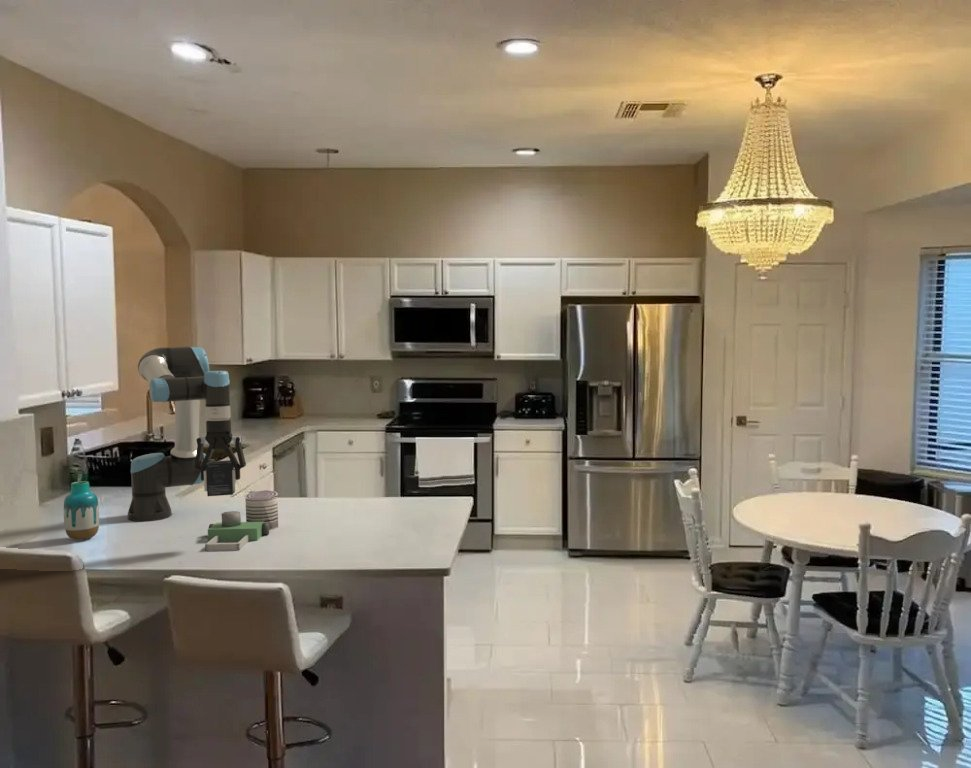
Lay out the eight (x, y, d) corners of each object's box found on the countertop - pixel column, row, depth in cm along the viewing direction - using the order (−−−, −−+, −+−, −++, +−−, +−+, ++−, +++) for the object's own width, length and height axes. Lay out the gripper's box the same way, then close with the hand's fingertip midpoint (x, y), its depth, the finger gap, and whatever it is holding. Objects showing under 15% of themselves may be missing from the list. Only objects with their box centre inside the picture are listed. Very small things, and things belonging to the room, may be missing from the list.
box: (235, 492, 271) (233, 459, 270) (232, 495, 265) (231, 462, 264) (209, 493, 269) (208, 460, 269) (206, 496, 264) (205, 463, 263)
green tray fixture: (191, 551, 262) (190, 525, 262) (212, 534, 284) (211, 511, 283) (253, 549, 262) (252, 524, 262) (269, 533, 284) (269, 509, 284)
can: (285, 524, 297) (284, 491, 296) (267, 532, 286) (265, 497, 285) (257, 522, 300) (256, 489, 300) (238, 530, 290) (237, 495, 289)
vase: (77, 544, 273) (74, 486, 272) (58, 540, 279) (55, 483, 277) (106, 537, 282) (104, 481, 281) (88, 534, 288) (85, 478, 286)
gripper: (180, 421, 262) (183, 493, 263) (248, 419, 262) (251, 491, 263) (189, 419, 270) (192, 488, 271) (254, 417, 270) (257, 487, 271)
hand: (221, 490), depth 267 cm, fingers closed on box, 8 cm apart
